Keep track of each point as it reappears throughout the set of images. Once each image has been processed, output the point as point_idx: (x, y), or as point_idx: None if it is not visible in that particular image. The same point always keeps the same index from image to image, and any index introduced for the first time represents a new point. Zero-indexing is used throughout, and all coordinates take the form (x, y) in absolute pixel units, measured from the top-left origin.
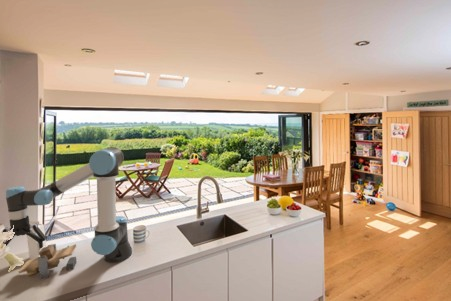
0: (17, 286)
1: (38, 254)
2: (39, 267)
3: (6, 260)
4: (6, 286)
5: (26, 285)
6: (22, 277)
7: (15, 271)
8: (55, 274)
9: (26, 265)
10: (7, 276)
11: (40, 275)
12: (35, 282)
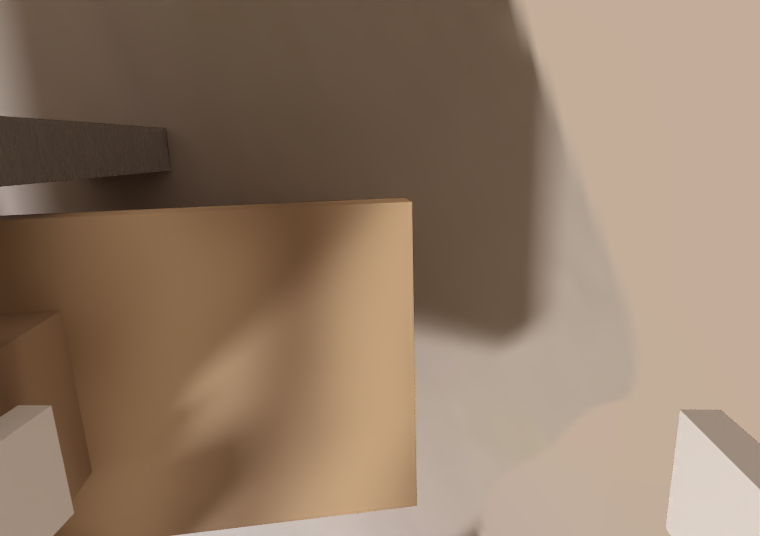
0: (387, 57)
1: (27, 418)
2: (27, 120)
3: (719, 415)
4: (531, 107)
5: (280, 42)
6: (413, 263)
7: (557, 437)
8: (33, 192)
9: (350, 346)
10: (611, 353)
11: (123, 125)
12: (196, 79)
